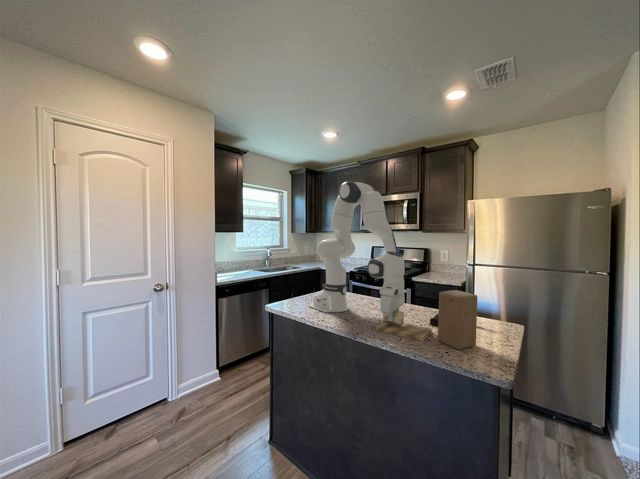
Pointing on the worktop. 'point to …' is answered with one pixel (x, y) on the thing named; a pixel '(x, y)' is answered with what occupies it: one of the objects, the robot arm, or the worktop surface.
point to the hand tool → (434, 320)
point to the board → (405, 330)
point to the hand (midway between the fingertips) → (393, 318)
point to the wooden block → (457, 319)
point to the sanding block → (395, 318)
